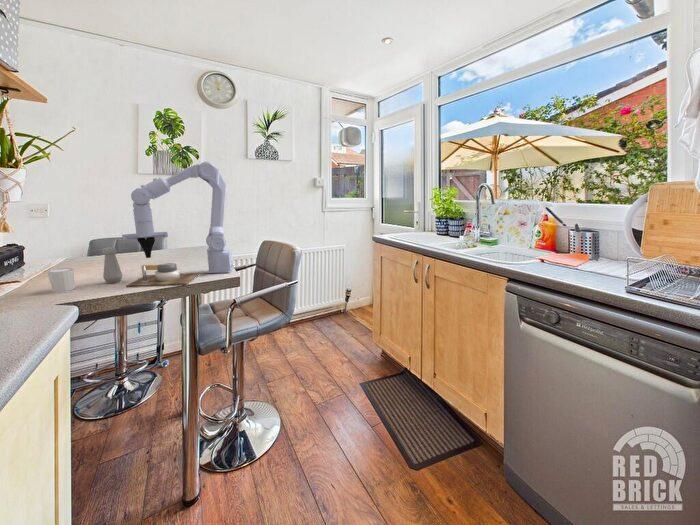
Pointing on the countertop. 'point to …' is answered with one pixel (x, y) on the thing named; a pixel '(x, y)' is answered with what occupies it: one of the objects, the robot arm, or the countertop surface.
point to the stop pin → (144, 275)
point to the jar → (167, 275)
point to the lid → (162, 267)
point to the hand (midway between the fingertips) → (148, 257)
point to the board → (182, 280)
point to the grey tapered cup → (62, 279)
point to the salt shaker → (111, 266)
